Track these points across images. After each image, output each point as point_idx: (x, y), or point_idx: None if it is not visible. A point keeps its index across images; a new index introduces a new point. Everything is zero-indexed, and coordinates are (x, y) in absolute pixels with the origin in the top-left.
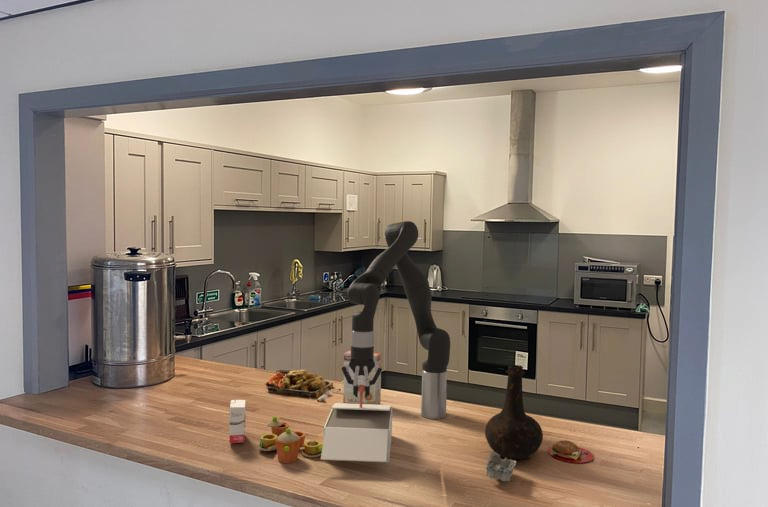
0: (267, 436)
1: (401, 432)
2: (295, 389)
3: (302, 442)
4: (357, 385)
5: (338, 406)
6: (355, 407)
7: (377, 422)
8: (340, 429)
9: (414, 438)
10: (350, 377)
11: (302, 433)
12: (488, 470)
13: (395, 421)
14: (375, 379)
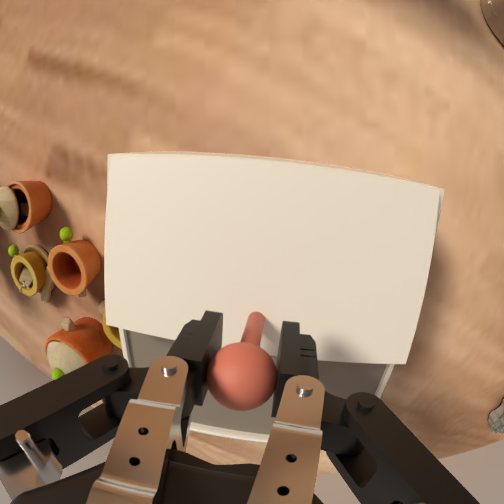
0: (19, 263)
1: (427, 145)
2: None
3: (93, 278)
4: (198, 385)
5: (132, 291)
6: (224, 321)
7: (330, 386)
8: (190, 429)
9: (457, 207)
10: (100, 397)
11: (76, 261)
12: (493, 422)
13: (407, 34)
14: (366, 475)
